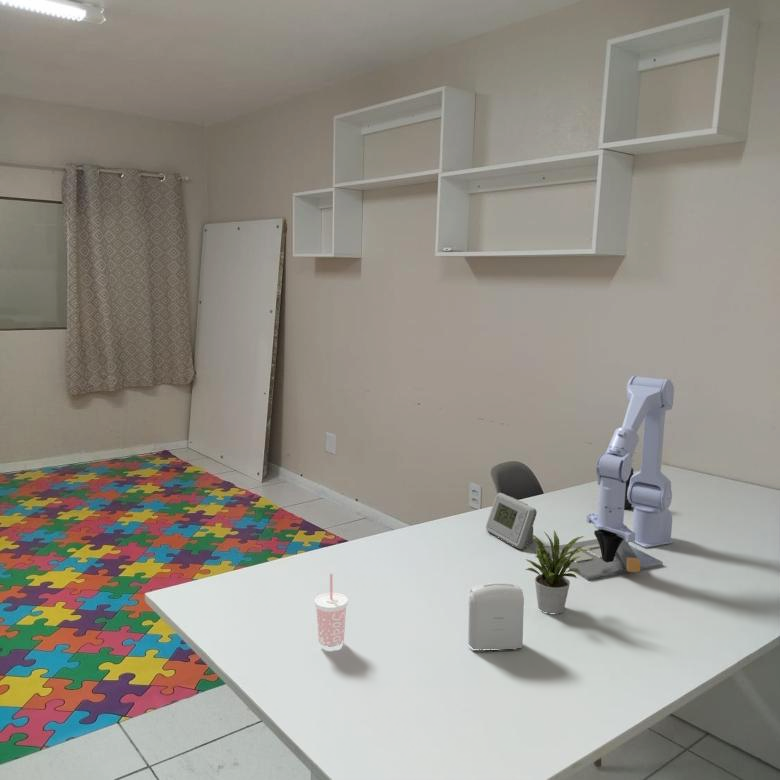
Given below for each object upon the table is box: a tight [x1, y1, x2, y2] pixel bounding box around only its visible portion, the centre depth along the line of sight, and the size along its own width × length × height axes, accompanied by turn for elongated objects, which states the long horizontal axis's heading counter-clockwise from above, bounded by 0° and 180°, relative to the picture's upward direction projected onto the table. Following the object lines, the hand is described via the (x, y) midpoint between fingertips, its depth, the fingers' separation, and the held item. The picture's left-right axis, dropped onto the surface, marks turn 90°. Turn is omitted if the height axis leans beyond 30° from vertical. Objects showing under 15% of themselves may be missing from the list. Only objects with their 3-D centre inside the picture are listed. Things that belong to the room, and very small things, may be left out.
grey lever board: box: [545, 538, 664, 581], centre depth 174 cm, size 22×18×5 cm
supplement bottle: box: [624, 466, 635, 510], centre depth 213 cm, size 7×7×12 cm
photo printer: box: [467, 582, 525, 650], centre depth 131 cm, size 10×4×12 cm, turn 96°
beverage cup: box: [314, 573, 349, 647], centre depth 131 cm, size 6×6×14 cm
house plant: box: [524, 530, 591, 615], centre depth 146 cm, size 14×14×16 cm
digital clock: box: [485, 492, 538, 550], centre depth 186 cm, size 16×9×11 cm, turn 15°
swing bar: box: [617, 539, 641, 573], centre depth 169 cm, size 14×3×3 cm, turn 175°
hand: (608, 560), depth 167 cm, fingers closed
